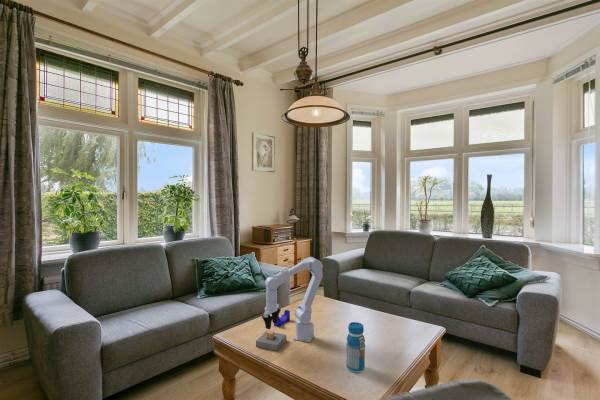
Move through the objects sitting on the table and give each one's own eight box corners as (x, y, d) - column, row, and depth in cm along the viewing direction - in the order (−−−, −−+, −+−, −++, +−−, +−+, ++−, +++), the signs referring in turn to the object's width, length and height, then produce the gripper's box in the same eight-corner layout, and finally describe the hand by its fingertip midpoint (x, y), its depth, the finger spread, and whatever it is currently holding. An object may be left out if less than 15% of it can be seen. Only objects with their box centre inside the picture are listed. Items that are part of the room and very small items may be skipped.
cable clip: (284, 318, 197) (284, 309, 196) (289, 320, 194) (289, 310, 194) (271, 325, 187) (271, 315, 186) (277, 327, 184) (277, 317, 184)
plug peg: (274, 342, 166) (274, 331, 165) (272, 345, 163) (272, 333, 163) (269, 341, 167) (269, 330, 166) (266, 344, 164) (266, 332, 164)
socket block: (286, 340, 168) (286, 334, 168) (276, 351, 157) (276, 345, 157) (266, 336, 172) (266, 331, 172) (255, 346, 161) (255, 340, 161)
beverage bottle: (347, 373, 138) (348, 329, 137) (344, 362, 147) (345, 320, 146) (366, 373, 138) (367, 329, 137) (362, 362, 147) (363, 321, 146)
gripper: (270, 294, 172) (270, 319, 173) (258, 304, 159) (258, 330, 159) (282, 296, 170) (282, 321, 170) (270, 305, 156) (270, 332, 157)
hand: (271, 325), depth 164 cm, fingers open, 7 cm apart
